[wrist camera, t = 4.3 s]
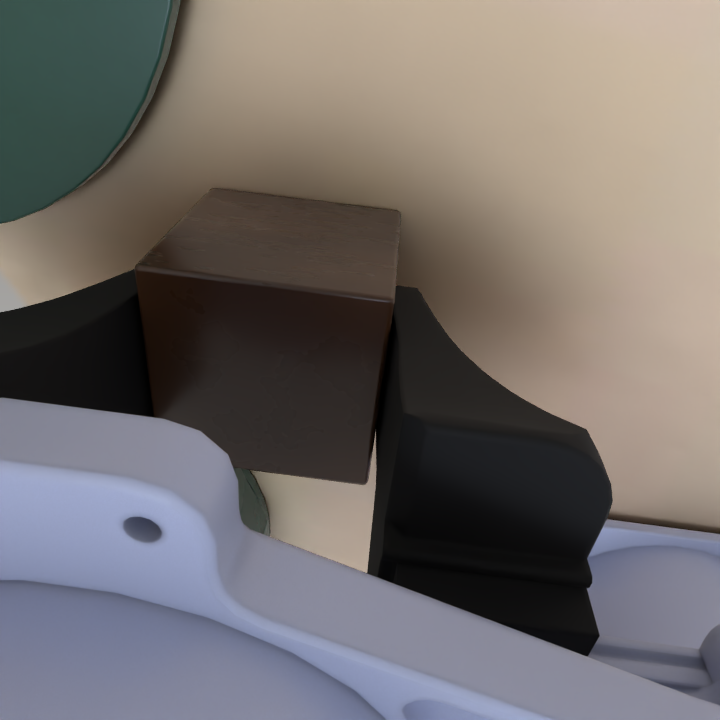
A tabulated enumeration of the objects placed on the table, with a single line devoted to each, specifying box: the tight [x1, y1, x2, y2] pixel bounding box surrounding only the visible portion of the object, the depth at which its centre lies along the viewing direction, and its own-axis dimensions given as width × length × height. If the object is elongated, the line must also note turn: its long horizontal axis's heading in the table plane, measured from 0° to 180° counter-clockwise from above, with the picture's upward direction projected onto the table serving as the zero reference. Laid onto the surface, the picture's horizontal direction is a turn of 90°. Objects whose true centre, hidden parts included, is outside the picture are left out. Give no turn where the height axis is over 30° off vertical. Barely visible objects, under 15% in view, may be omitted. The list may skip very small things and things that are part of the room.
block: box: [135, 188, 401, 485], centre depth 13 cm, size 4×4×4 cm
